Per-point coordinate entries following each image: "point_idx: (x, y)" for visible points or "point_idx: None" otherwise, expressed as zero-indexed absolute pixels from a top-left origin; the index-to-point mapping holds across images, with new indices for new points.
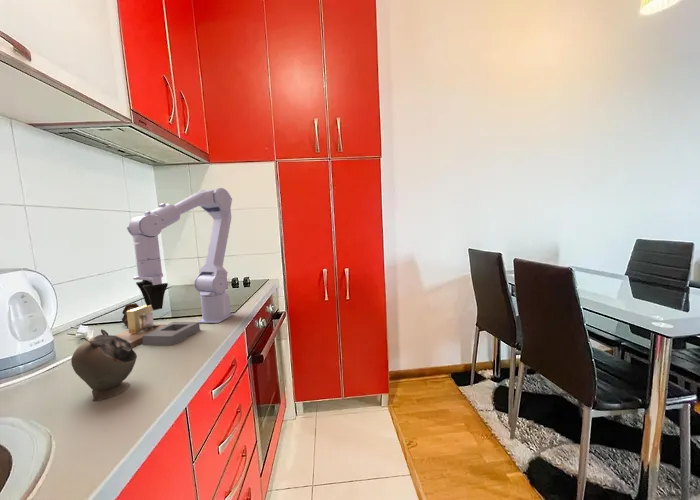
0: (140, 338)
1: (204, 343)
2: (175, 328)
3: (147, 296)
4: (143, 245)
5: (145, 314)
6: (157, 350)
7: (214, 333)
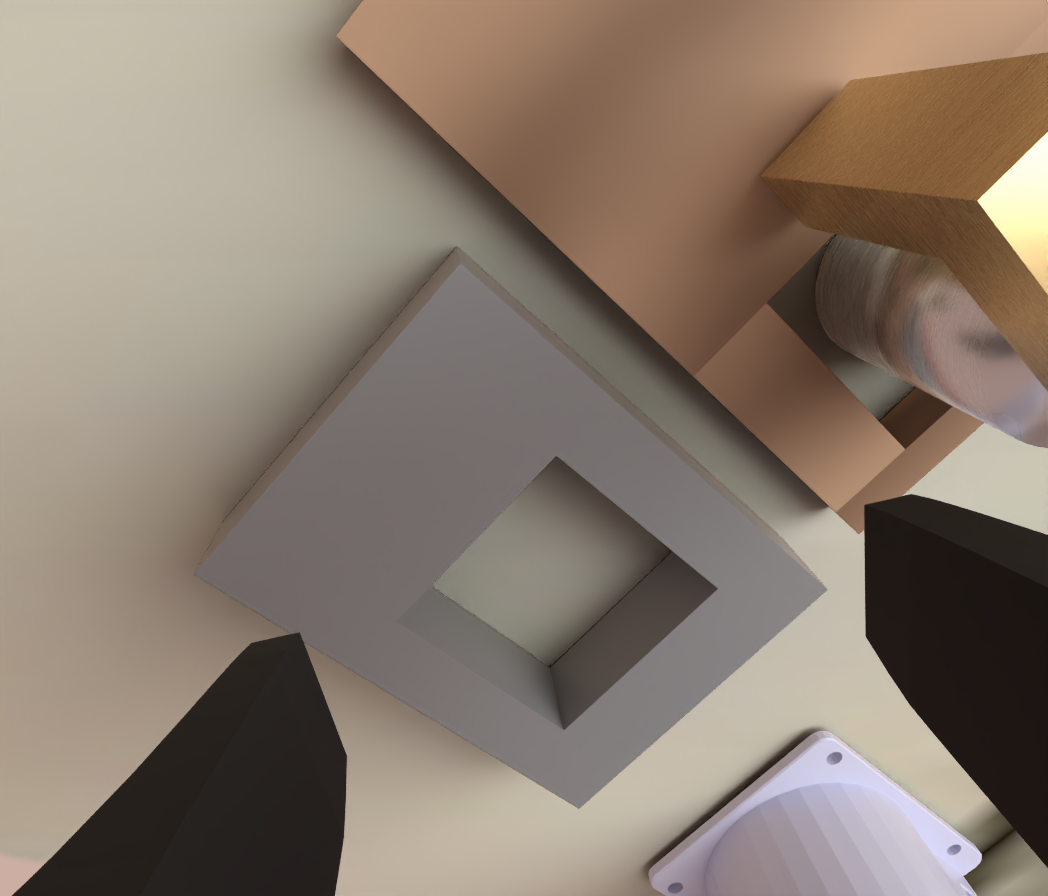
0: (539, 228)
1: (104, 760)
2: (681, 578)
3: (1027, 663)
4: None
5: None
6: (135, 390)
7: (359, 833)
